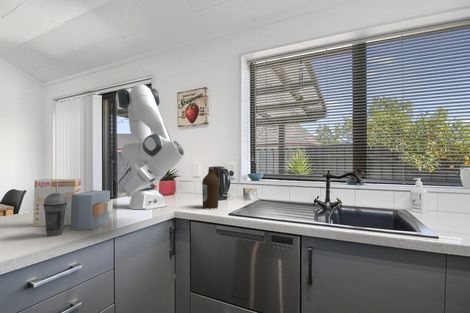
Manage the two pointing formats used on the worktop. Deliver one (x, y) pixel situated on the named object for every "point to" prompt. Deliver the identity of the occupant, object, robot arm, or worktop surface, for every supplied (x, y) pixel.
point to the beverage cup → (55, 213)
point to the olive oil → (210, 189)
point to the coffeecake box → (49, 187)
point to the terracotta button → (98, 209)
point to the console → (88, 210)
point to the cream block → (107, 206)
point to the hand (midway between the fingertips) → (128, 195)
